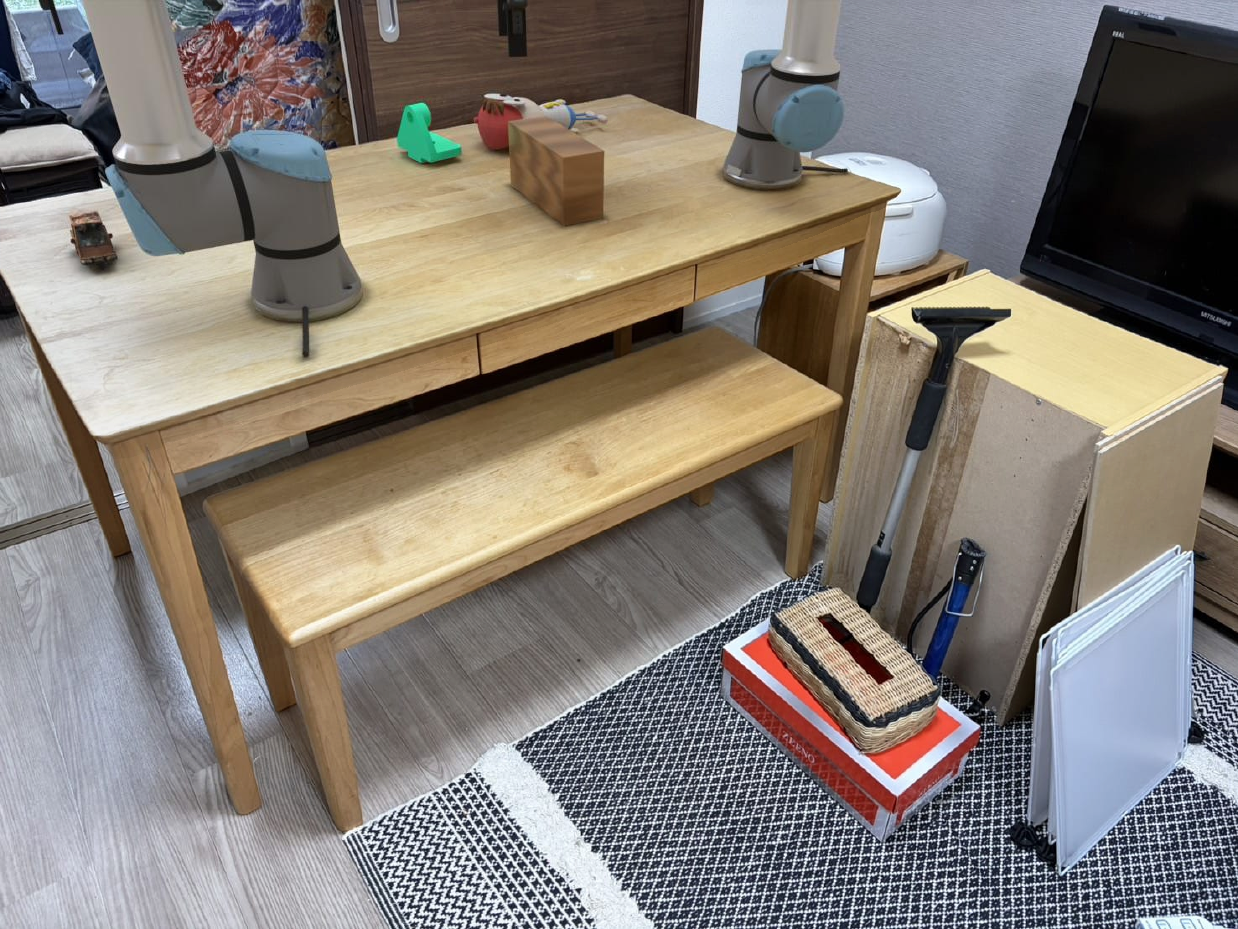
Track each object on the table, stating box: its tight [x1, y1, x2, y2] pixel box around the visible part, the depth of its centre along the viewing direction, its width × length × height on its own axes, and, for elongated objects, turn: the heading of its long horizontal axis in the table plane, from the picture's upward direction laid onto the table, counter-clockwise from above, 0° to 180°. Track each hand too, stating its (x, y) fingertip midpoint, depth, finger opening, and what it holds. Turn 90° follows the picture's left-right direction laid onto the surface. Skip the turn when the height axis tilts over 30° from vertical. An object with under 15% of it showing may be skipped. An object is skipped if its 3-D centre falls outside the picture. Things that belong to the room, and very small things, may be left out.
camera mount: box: [396, 102, 463, 164], centre depth 182 cm, size 12×8×10 cm, turn 42°
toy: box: [473, 93, 609, 150], centre depth 194 cm, size 18×10×30 cm
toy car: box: [68, 210, 118, 272], centre depth 141 cm, size 6×12×7 cm, turn 39°
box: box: [508, 116, 605, 227], centre depth 164 cm, size 22×8×12 cm, turn 30°
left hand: (108, 29), depth 146 cm, fingers open, 13 cm apart
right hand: (512, 45), depth 144 cm, fingers open, 13 cm apart
